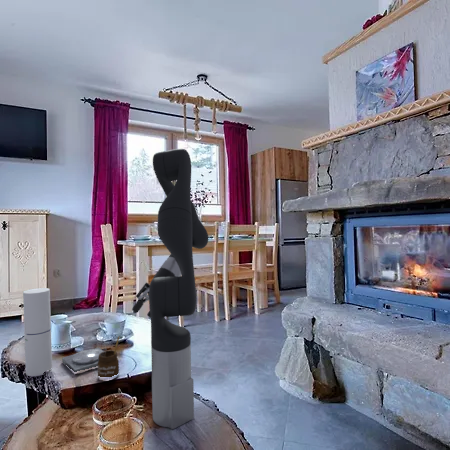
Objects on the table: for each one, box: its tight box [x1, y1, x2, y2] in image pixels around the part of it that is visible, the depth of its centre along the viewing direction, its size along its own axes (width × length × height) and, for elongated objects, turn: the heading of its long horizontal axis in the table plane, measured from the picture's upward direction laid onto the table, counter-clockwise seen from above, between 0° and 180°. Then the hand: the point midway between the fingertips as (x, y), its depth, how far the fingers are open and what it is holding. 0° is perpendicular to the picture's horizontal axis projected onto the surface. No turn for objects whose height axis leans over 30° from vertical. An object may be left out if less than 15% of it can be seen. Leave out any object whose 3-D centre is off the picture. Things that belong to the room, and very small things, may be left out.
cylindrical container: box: [22, 287, 53, 377], centre depth 103 cm, size 7×7×25 cm
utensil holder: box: [96, 336, 120, 377], centre depth 99 cm, size 6×6×12 cm
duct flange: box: [61, 346, 104, 372], centre depth 109 cm, size 12×12×3 cm
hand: (141, 314), depth 107 cm, fingers open, 8 cm apart
